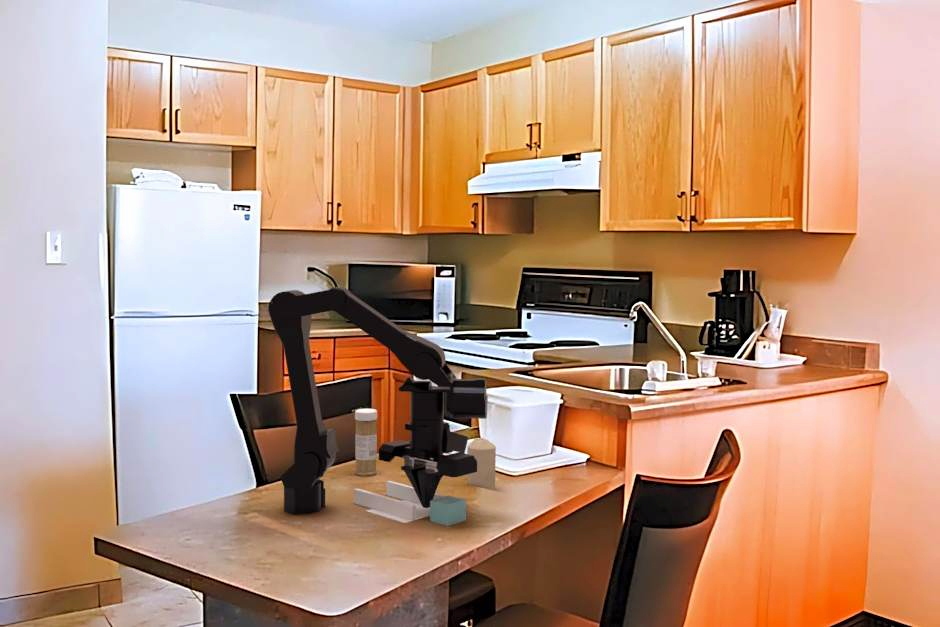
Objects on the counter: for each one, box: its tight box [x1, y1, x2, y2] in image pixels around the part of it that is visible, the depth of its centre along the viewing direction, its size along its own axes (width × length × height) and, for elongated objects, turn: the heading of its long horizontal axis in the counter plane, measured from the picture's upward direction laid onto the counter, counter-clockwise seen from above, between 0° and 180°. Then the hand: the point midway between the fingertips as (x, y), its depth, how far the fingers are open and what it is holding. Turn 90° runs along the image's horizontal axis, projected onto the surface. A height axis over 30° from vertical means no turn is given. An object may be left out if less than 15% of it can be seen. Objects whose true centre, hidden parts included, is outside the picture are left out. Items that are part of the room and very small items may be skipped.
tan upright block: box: [466, 437, 497, 492], centre depth 179 cm, size 6×6×10 cm
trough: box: [353, 480, 446, 524], centre depth 161 cm, size 12×15×4 cm
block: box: [429, 495, 467, 527], centre depth 153 cm, size 4×5×4 cm
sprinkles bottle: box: [354, 408, 378, 477], centre depth 190 cm, size 5×5×13 cm
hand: (426, 507), depth 157 cm, fingers closed
